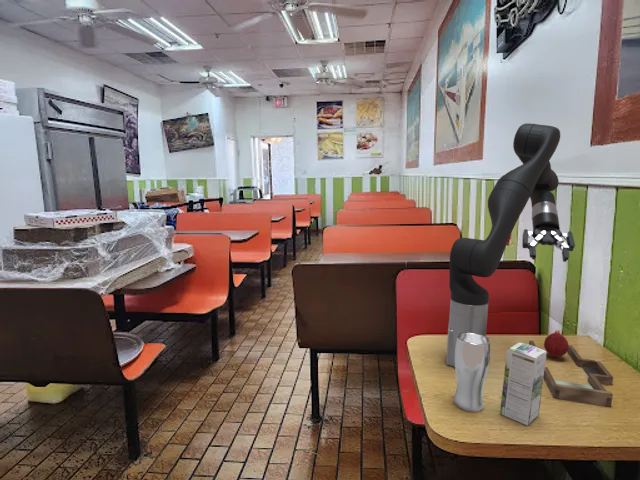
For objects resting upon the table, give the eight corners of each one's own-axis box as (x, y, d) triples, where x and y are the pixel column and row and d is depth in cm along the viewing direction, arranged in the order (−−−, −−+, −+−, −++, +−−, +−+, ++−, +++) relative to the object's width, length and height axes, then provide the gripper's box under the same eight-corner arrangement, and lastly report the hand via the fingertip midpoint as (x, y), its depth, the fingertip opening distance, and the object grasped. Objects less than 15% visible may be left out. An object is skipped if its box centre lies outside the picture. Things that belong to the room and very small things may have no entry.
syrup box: (511, 404, 88) (517, 340, 86) (540, 416, 84) (547, 349, 82) (499, 414, 84) (505, 347, 82) (529, 427, 80) (536, 357, 78)
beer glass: (447, 395, 91) (452, 331, 89) (478, 396, 91) (484, 332, 89) (456, 412, 85) (461, 344, 82) (490, 413, 84) (496, 345, 82)
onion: (570, 363, 109) (573, 335, 108) (547, 361, 110) (550, 333, 109) (562, 354, 114) (565, 327, 113) (540, 352, 116) (542, 325, 114)
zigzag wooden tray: (534, 395, 92) (535, 382, 92) (513, 344, 121) (514, 335, 120) (632, 410, 87) (634, 397, 86) (587, 354, 115) (588, 344, 115)
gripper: (523, 210, 133) (526, 250, 123) (572, 212, 128) (579, 253, 119) (519, 224, 138) (521, 264, 129) (566, 227, 134) (572, 267, 125)
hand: (549, 259), depth 124 cm, fingers open, 8 cm apart
